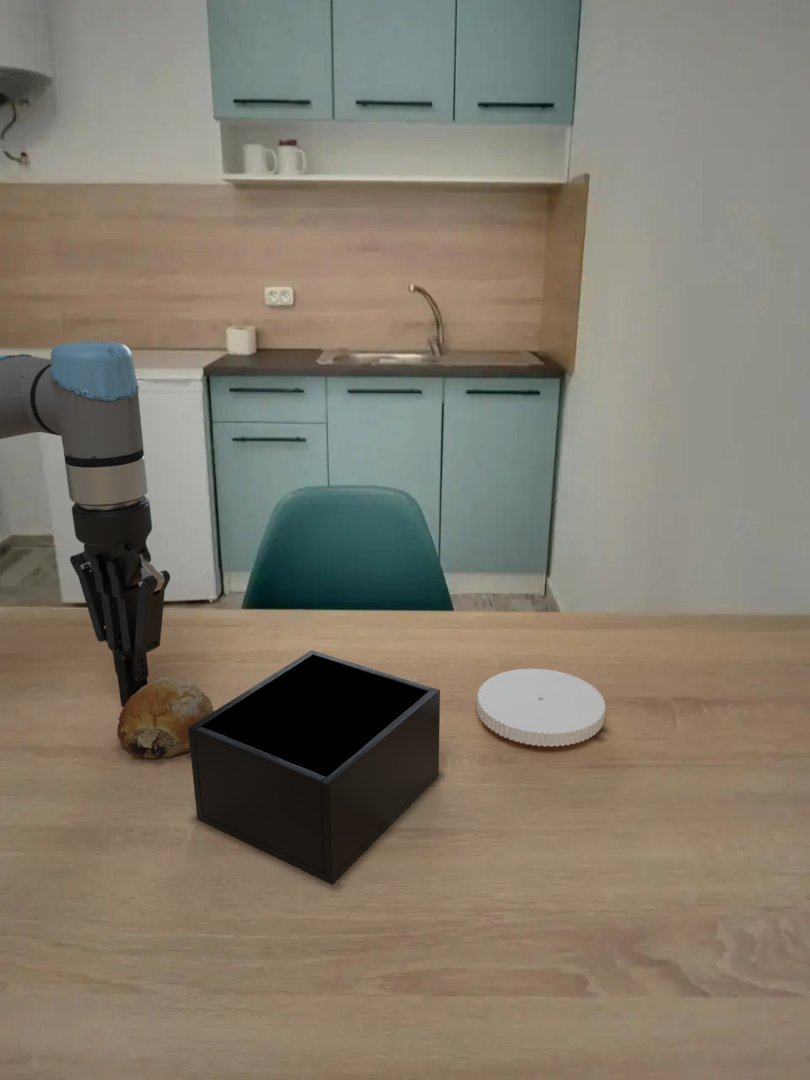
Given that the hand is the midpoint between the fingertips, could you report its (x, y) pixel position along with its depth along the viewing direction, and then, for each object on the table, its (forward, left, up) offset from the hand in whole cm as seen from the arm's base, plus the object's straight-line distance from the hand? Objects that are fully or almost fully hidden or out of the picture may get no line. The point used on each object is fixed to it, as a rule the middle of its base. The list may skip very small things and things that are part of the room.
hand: (135, 702), depth 92 cm
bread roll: (+6, -1, -2) cm, 6 cm away
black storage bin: (+26, 0, -2) cm, 26 cm away
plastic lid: (+38, +24, -2) cm, 45 cm away
